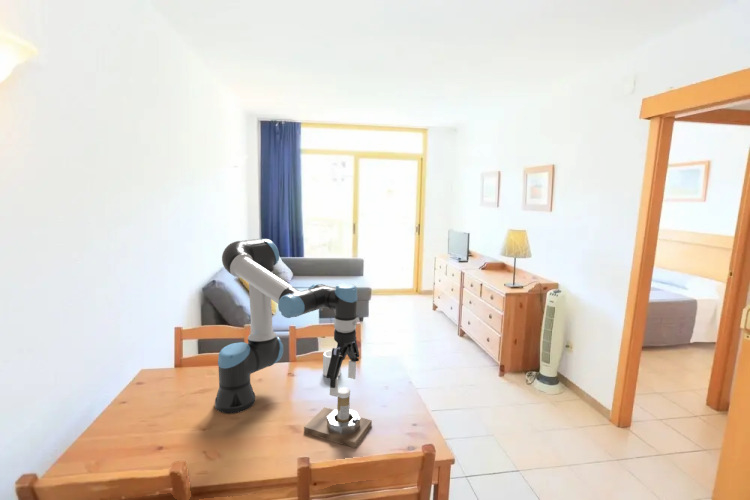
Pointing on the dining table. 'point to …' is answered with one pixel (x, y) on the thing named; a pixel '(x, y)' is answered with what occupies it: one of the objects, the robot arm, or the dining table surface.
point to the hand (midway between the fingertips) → (343, 386)
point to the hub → (343, 427)
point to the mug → (327, 362)
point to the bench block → (321, 430)
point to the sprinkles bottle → (343, 405)
